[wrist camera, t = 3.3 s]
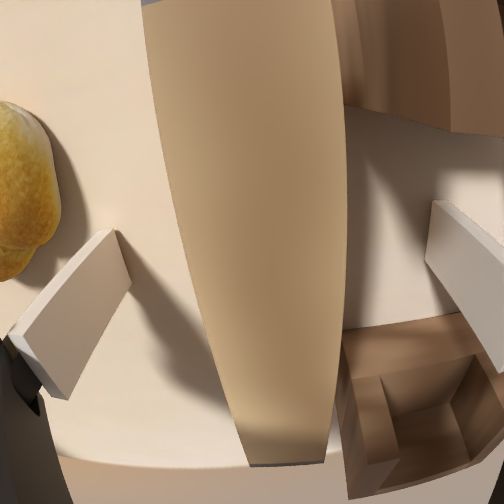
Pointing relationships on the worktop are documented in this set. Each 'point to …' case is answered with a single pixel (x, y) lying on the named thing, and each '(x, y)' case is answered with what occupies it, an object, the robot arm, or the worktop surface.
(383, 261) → the worktop surface
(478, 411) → the post
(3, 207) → the bread roll
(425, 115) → the post
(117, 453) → the worktop surface
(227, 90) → the rail
